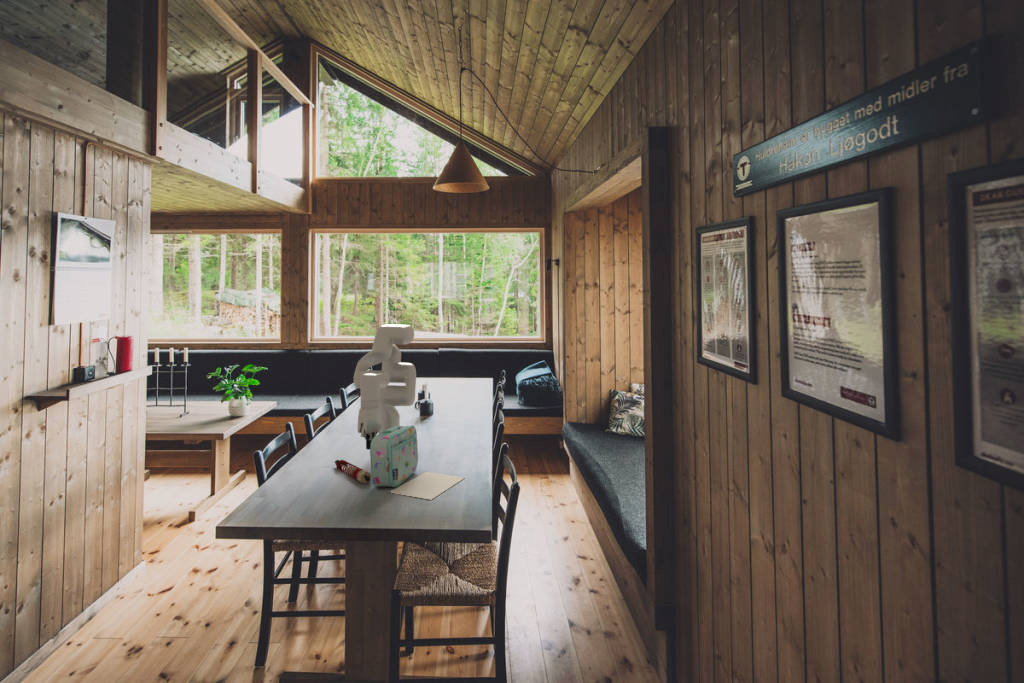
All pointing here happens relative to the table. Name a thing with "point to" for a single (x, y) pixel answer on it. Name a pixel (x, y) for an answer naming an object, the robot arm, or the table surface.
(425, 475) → the mat
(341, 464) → the shock absorber
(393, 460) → the lunch box
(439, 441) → the table surface
